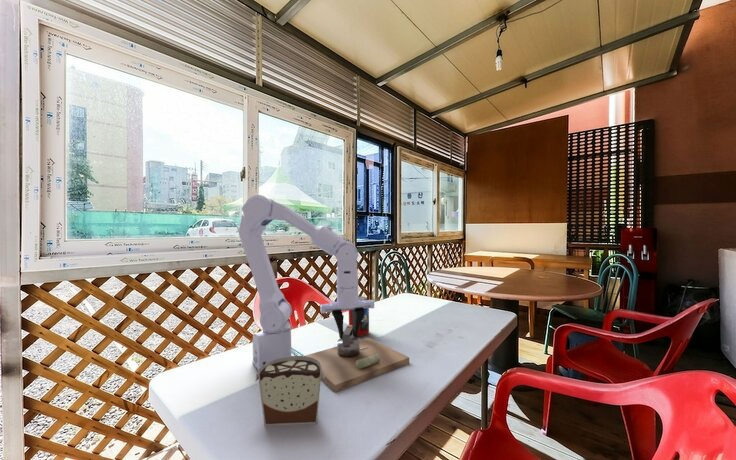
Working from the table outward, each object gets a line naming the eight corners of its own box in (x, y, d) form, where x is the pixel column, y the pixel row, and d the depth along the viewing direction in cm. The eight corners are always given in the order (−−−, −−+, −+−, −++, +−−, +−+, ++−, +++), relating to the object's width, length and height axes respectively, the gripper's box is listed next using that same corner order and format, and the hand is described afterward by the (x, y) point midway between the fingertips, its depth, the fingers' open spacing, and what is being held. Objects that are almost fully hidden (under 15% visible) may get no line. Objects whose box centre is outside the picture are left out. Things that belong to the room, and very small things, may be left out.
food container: (328, 403, 59) (327, 353, 59) (325, 423, 52) (324, 367, 52) (266, 405, 58) (265, 355, 58) (255, 426, 52) (255, 370, 52)
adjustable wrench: (272, 342, 89) (288, 338, 93) (273, 346, 89) (288, 341, 93) (294, 357, 79) (310, 352, 82) (294, 361, 79) (310, 355, 82)
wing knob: (357, 358, 75) (357, 334, 75) (334, 357, 75) (334, 333, 76) (361, 347, 82) (360, 325, 82) (340, 346, 82) (339, 324, 82)
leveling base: (335, 392, 62) (334, 375, 62) (301, 362, 77) (301, 349, 77) (409, 363, 75) (409, 349, 75) (368, 342, 90) (368, 331, 90)
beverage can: (369, 337, 94) (368, 300, 94) (348, 337, 94) (347, 300, 94) (369, 330, 101) (368, 295, 101) (349, 330, 101) (349, 295, 101)
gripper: (368, 282, 85) (369, 328, 85) (318, 285, 80) (319, 335, 80) (376, 286, 78) (377, 337, 78) (322, 290, 74) (323, 344, 74)
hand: (348, 336), depth 79 cm, fingers closed on wing knob, 3 cm apart
